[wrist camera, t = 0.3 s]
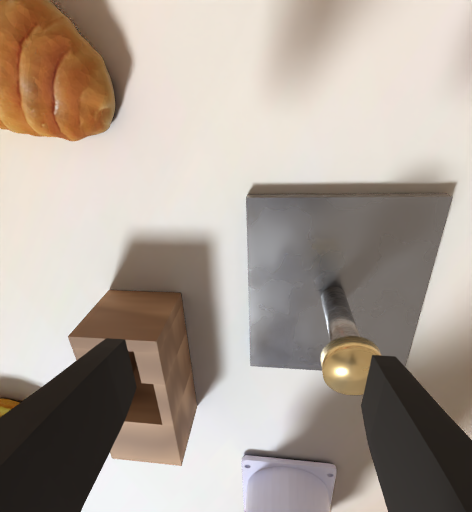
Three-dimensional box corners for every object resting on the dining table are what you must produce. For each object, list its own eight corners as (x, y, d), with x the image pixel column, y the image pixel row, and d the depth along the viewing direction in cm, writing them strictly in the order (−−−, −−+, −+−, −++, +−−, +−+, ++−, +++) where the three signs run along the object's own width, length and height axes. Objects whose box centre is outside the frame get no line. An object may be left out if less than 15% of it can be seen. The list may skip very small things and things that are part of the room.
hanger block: (197, 406, 25) (181, 465, 21) (138, 401, 26) (112, 458, 22) (181, 292, 20) (156, 341, 16) (109, 290, 21) (67, 336, 17)
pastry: (142, 40, 14) (100, 23, 11) (105, 170, 17) (63, 188, 14) (-58, -76, 13) (-172, -133, 10) (-60, 84, 16) (-148, 81, 13)
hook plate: (399, 368, 21) (444, 469, 15) (251, 359, 22) (241, 449, 17) (446, 193, 16) (542, 248, 10) (247, 194, 17) (231, 243, 11)
